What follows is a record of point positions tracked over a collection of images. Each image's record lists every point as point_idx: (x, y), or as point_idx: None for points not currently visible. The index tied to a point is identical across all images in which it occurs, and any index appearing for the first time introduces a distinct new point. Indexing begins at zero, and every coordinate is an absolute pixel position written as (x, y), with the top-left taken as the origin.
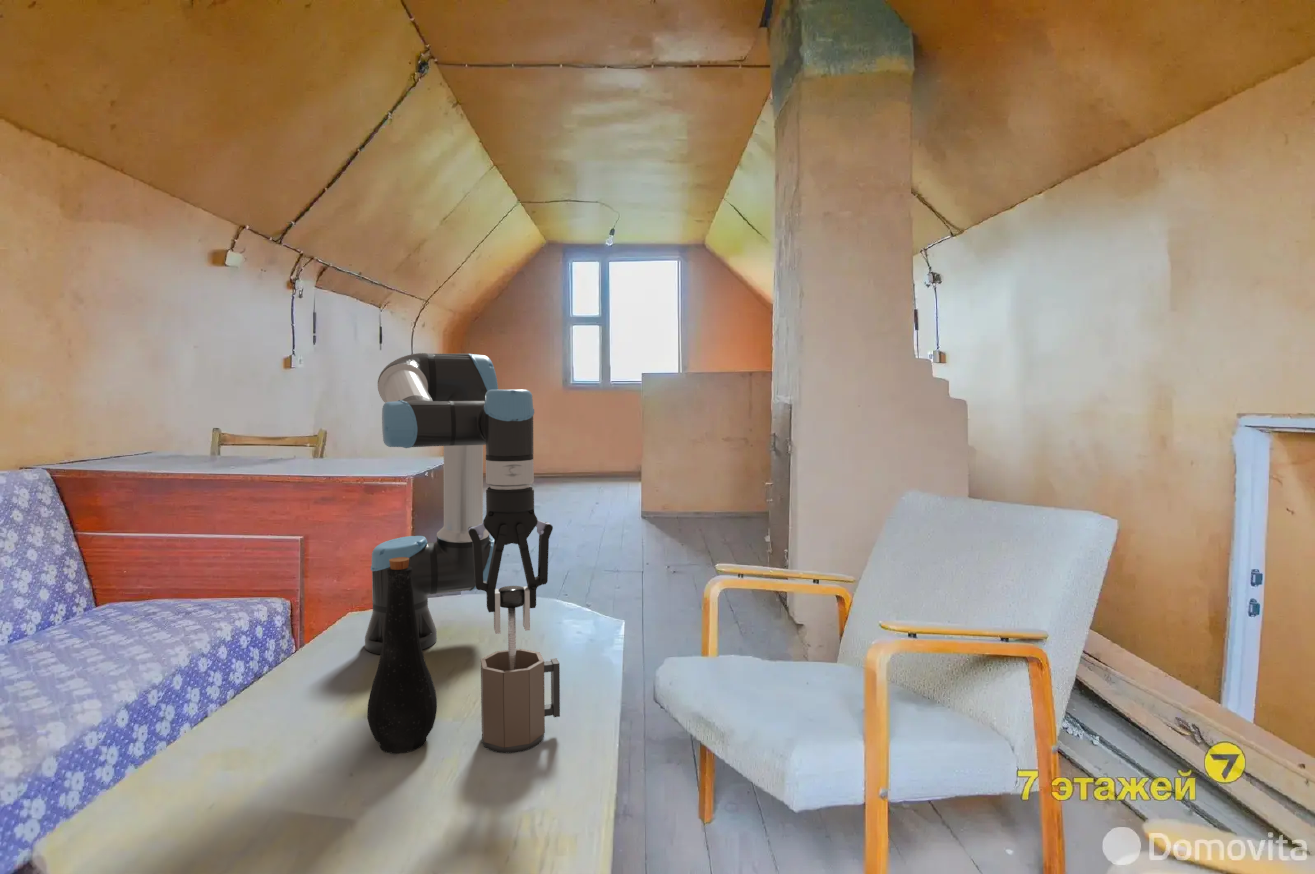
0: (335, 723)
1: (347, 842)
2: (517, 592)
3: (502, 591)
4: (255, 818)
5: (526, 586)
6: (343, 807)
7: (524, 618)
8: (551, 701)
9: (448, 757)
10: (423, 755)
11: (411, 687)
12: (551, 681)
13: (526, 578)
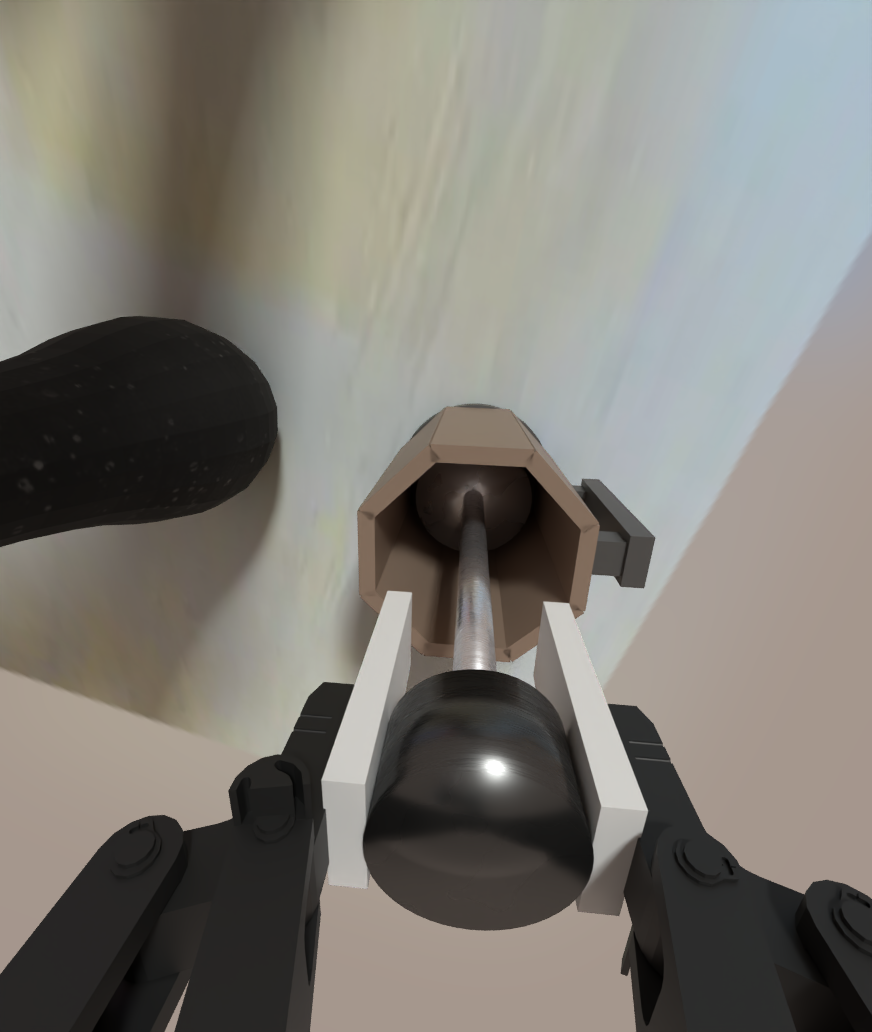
0: (25, 219)
1: (189, 695)
2: (507, 922)
3: (389, 882)
4: (29, 591)
5: (640, 811)
6: (159, 611)
7: (544, 693)
8: (588, 493)
9: (326, 513)
10: (274, 485)
11: (152, 520)
12: (604, 517)
13: (665, 938)
